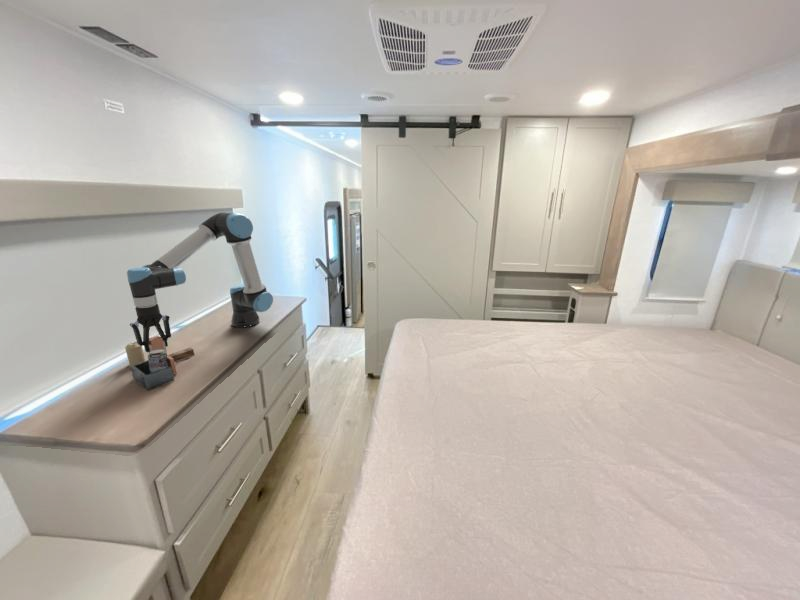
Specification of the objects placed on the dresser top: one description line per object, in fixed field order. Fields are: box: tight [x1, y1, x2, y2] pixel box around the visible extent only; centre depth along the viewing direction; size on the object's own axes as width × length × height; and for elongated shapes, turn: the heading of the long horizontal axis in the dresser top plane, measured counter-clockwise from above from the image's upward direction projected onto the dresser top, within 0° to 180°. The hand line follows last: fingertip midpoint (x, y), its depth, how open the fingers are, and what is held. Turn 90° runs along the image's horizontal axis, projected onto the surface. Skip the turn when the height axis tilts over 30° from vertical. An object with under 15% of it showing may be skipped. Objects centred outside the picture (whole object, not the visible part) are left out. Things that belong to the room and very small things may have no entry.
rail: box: [168, 347, 195, 363], centre depth 140 cm, size 16×3×3 cm, turn 147°
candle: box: [125, 341, 147, 367], centre depth 136 cm, size 6×6×10 cm
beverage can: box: [147, 349, 168, 374], centre depth 126 cm, size 6×7×12 cm
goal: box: [129, 359, 175, 391], centre depth 125 cm, size 9×14×6 cm, turn 57°
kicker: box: [149, 335, 178, 376], centre depth 132 cm, size 4×16×12 cm, turn 57°
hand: (158, 355), depth 135 cm, fingers closed on kicker, 4 cm apart
